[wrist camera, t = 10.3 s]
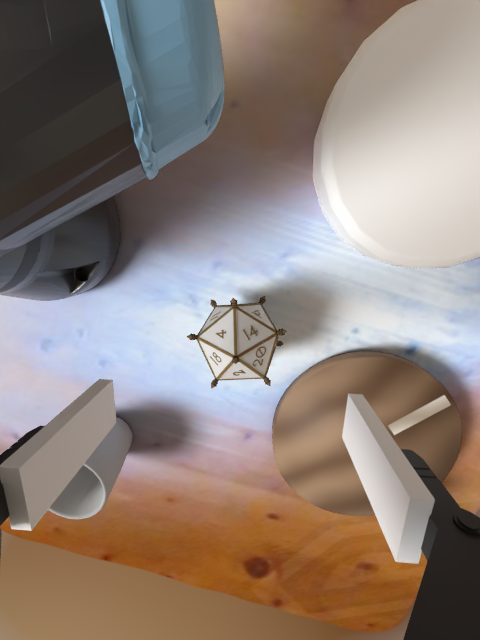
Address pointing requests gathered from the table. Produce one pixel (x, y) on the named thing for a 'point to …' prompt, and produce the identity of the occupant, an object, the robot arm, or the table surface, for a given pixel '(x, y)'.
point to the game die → (238, 341)
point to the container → (407, 140)
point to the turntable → (328, 421)
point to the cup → (95, 476)
